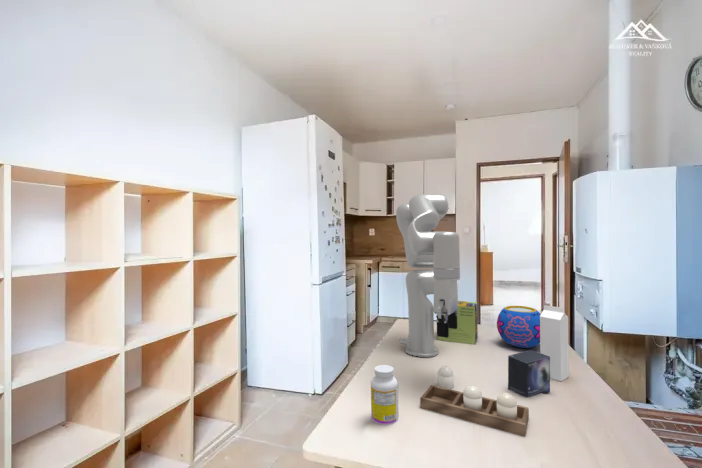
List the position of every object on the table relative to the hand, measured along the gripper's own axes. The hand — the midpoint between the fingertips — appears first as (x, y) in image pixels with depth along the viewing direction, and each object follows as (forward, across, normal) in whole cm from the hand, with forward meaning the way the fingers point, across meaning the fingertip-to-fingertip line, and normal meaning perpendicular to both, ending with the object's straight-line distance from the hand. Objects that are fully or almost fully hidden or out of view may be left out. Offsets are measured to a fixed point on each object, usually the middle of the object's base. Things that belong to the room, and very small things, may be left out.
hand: (447, 332), depth 99 cm
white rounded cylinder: (+17, 0, -1) cm, 17 cm away
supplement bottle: (+17, +24, -9) cm, 31 cm away
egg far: (+16, +12, +17) cm, 26 cm away
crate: (+17, +11, +9) cm, 22 cm away
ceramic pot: (+17, -52, +15) cm, 56 cm away
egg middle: (+16, +11, +9) cm, 22 cm away
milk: (+17, -25, +27) cm, 40 cm away
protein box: (+17, -49, -9) cm, 52 cm away
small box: (+17, -9, +20) cm, 28 cm away
